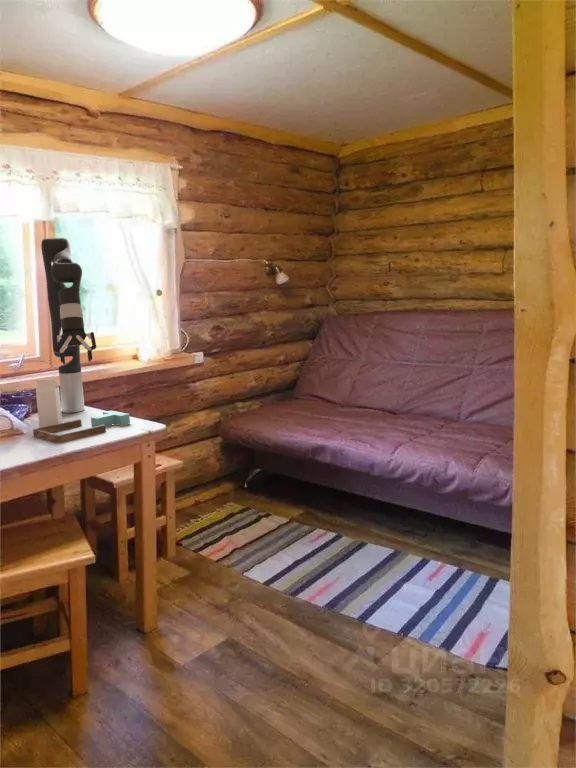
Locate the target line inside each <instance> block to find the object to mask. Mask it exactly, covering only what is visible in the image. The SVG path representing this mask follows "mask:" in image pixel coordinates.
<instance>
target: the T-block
mask: <svg viewBox="0 0 576 768" xmlns="http://www.w3.org/2000/svg"><path fill="white" fill-rule="evenodd" d="M130 419H131V418H130V413H125V412H121V411H116V410H107V411H103V412H102V414H100V415H95V416H92V417H90V420H91V421H90V422H91V428H92V427H96V426H100V425H105V428H107V427H110V426H109V425H111V426H113V425H112V424H119V425H118V426H120V425H123V426H125V425H124V424H127V425H129V424H128V423H130V424H131V420H130ZM106 426H107V427H106Z"/></svg>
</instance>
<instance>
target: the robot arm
mask: <svg viewBox="0 0 576 768" xmlns="http://www.w3.org/2000/svg"><path fill="white" fill-rule="evenodd" d="M40 247H41V254H42V260H43V266H44V273H45V278H46V291H47V302H48V303H47V304H48V309H49V315H50V316H49V317H50V322H51V338H52V339H51V340H52V350H53V355H54V356H55V357H56V358H59V359H60V363H61V365H59V366H58V376H59V377H58V378H59V385H60V387H59V393H60V404H61V412H63V413H67V414H68V413H69V414H70V413H78V412H79V413H80V412H83V411H85V398H84V386H83V376H82V375H83V374H82V367H81V366H82V365H81V351H80V349H81V348H80V347H81V346H82V347H84V348H85V350H86V351H87V352H86V353H87V360H88V363H90V362H92V360H93V352H92V351H93V350H96V349H97V344H96V337H95V333H94V332H93V331H92V332H89V333H86V332H85V322H84V313H83V309H82V304H81V296H80V289H81V288H80V287H81V282H82V278H83V277H82V276H83V269H82V266H81V265H80V264H79V263H77V262H74V261H73V251H72V246H71V242H70V240H69V239H68V238H65V237H51V238H48V237H47V238H43V239H42V240H41V244H40ZM70 283H72V285H71V286H68V285H67V284H70ZM61 333H62V334H61ZM87 338H88V339H89V340H91V346H90V345H89V344H88V343H87V342H86V341H85V340H86V339H87ZM68 357H69V358H70V357H72V358H71V360H70V361H67V362H66V358H68Z"/></svg>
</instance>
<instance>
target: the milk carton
mask: <svg viewBox="0 0 576 768" xmlns="http://www.w3.org/2000/svg"><path fill="white" fill-rule="evenodd" d="M35 398H36V407H37V415H38V416H37V417H38V425H39V426H38V428H42V427H46V426H51V425H56V424H60V423H63V415H62V407H61V397H60V387H59V384H58V382H57V379H56V378H53V379H52V378H49V379H37V380H36V388H35Z"/></svg>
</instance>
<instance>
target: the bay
mask: <svg viewBox="0 0 576 768" xmlns="http://www.w3.org/2000/svg"><path fill="white" fill-rule="evenodd" d="M81 426H82V419H80V418H79V419H74V420H70V421H66V422H62V423H60V424H56V425H51V426H46V427H42V428H39V427H38V428H34V429H32V433H33V434H32V435H34V436H33V437H35V436H37V437H36V438H39V437H40V438H39V439H42V438H43V440H47V441H49V442H53V443H57V444H61V443H65V442H68V441H72V440H73V441H74V440H77V439H81V438H85V437H89V436H94V435H97V434H102V433H105V432H107V430H106V427H105V425H100V426H96V427H92V426H91V427H87V428H84V429H79V430H76V431H71V432H67V433H62V434H57V432H60V431H66V430H70V429H74V428H78V427H81Z"/></svg>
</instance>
